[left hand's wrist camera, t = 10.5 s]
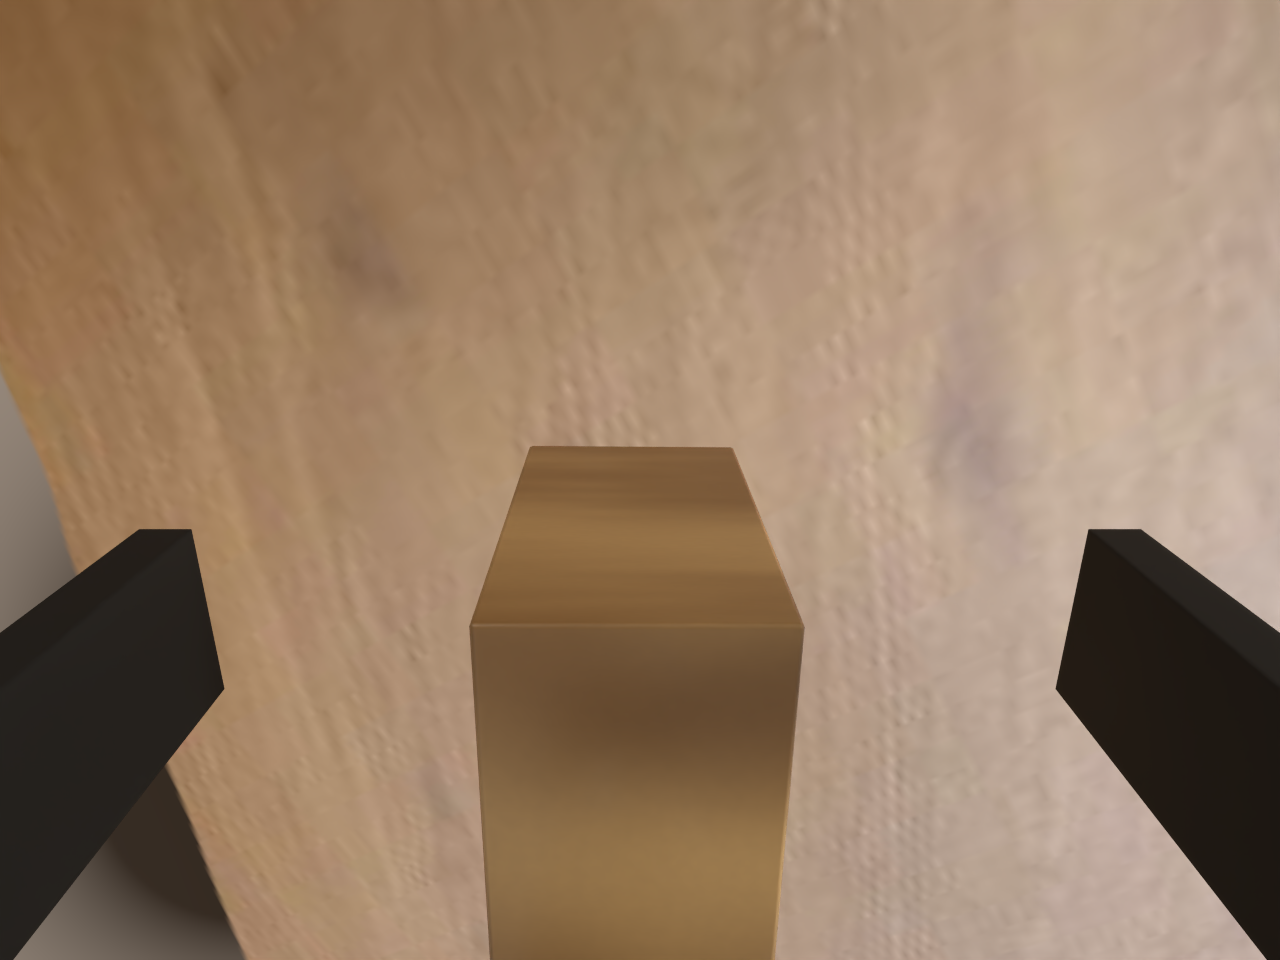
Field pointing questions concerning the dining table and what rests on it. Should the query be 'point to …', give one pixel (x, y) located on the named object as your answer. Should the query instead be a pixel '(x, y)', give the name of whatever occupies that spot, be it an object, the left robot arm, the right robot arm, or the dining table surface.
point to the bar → (634, 710)
